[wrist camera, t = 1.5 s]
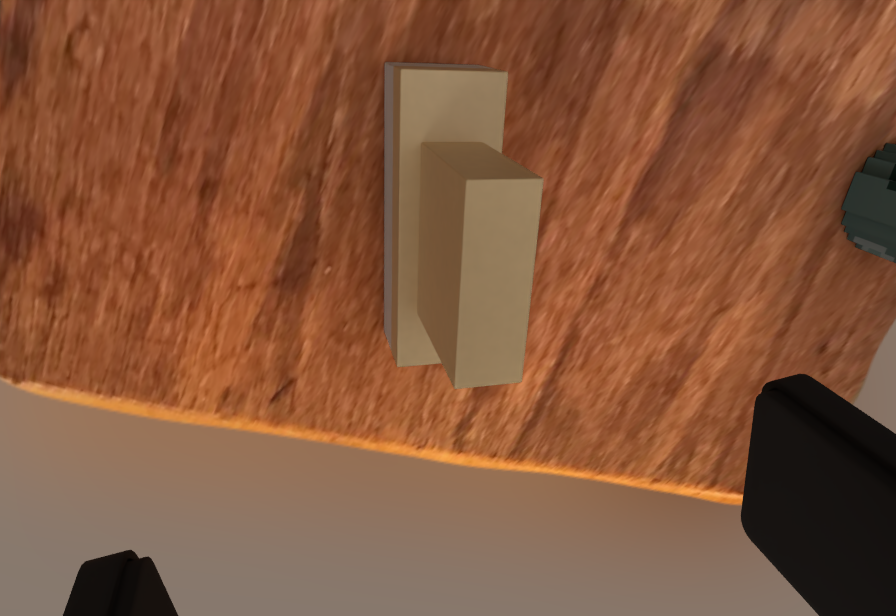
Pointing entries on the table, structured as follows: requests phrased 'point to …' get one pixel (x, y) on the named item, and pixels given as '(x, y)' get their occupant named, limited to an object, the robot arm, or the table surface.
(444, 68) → the wooden block stamp
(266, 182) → the table surface
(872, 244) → the can
